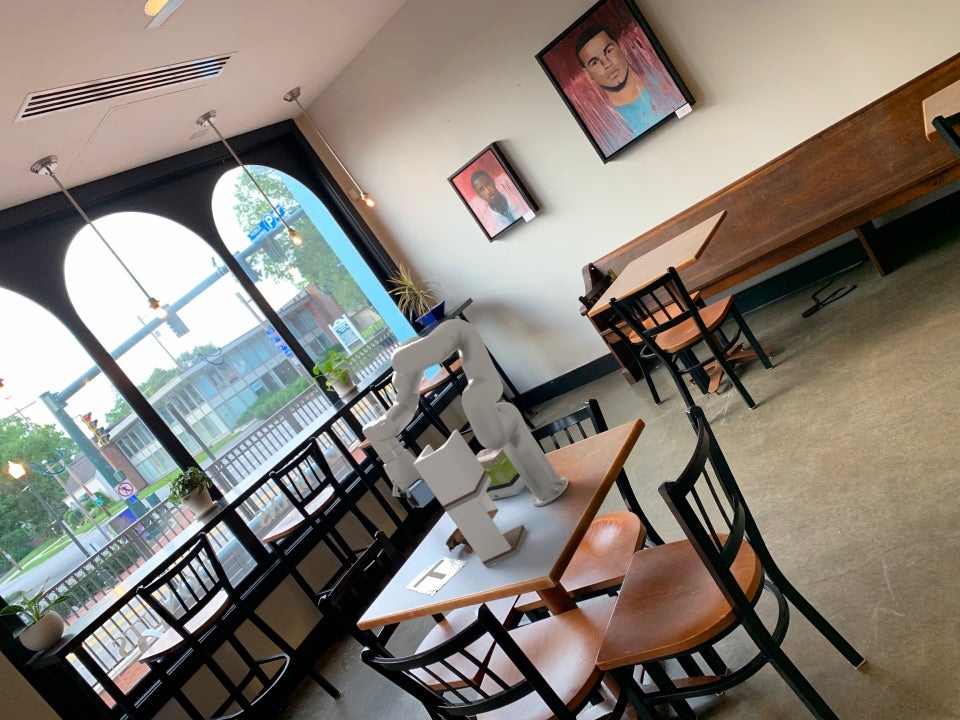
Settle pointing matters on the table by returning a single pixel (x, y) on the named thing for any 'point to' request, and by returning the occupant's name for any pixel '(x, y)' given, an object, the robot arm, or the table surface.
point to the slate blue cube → (422, 493)
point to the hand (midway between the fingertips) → (424, 498)
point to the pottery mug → (458, 541)
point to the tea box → (500, 474)
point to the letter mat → (435, 576)
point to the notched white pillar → (468, 498)
